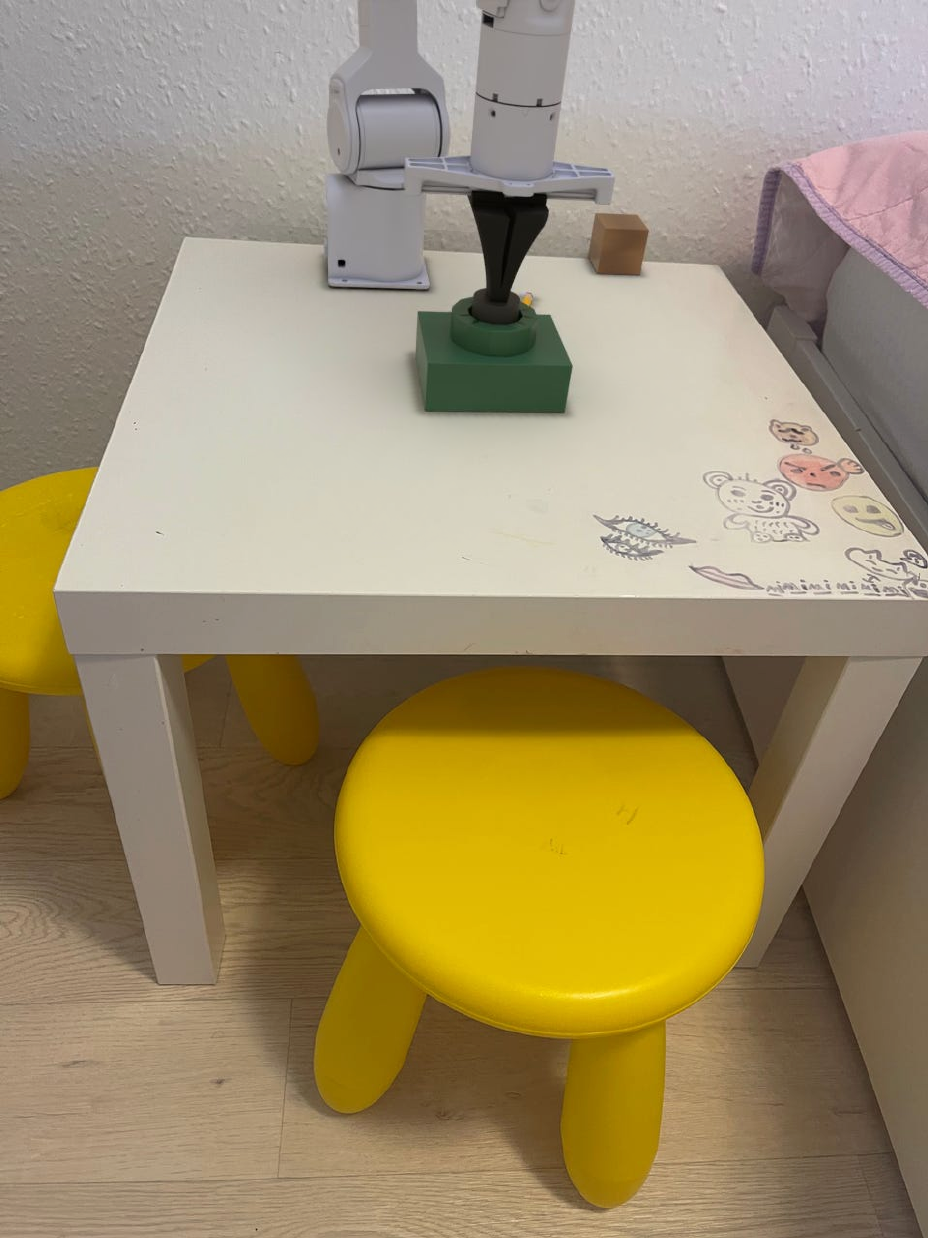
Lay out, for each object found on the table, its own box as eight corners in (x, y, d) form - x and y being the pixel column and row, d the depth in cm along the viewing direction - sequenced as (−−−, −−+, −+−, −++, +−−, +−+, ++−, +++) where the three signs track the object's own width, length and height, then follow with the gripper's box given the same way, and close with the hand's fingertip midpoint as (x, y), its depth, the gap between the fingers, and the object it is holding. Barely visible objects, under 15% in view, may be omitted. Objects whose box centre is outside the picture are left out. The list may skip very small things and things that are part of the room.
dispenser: (424, 411, 70) (429, 337, 66) (415, 356, 77) (418, 286, 73) (564, 412, 72) (577, 340, 68) (543, 359, 79) (553, 290, 75)
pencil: (532, 299, 88) (533, 292, 87) (518, 337, 82) (519, 329, 81) (524, 298, 88) (525, 291, 88) (509, 335, 82) (510, 328, 81)
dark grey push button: (474, 332, 69) (476, 306, 68) (468, 312, 72) (470, 286, 71) (520, 333, 70) (524, 307, 69) (513, 313, 73) (516, 287, 71)
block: (597, 273, 94) (605, 228, 91) (587, 256, 97) (595, 212, 94) (639, 274, 95) (649, 230, 92) (628, 258, 98) (637, 214, 95)
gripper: (413, 105, 57) (405, 316, 66) (640, 118, 59) (601, 322, 68) (405, 77, 62) (398, 277, 71) (613, 90, 64) (581, 283, 73)
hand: (496, 296), depth 70 cm, fingers closed, pressing on dark grey push button
